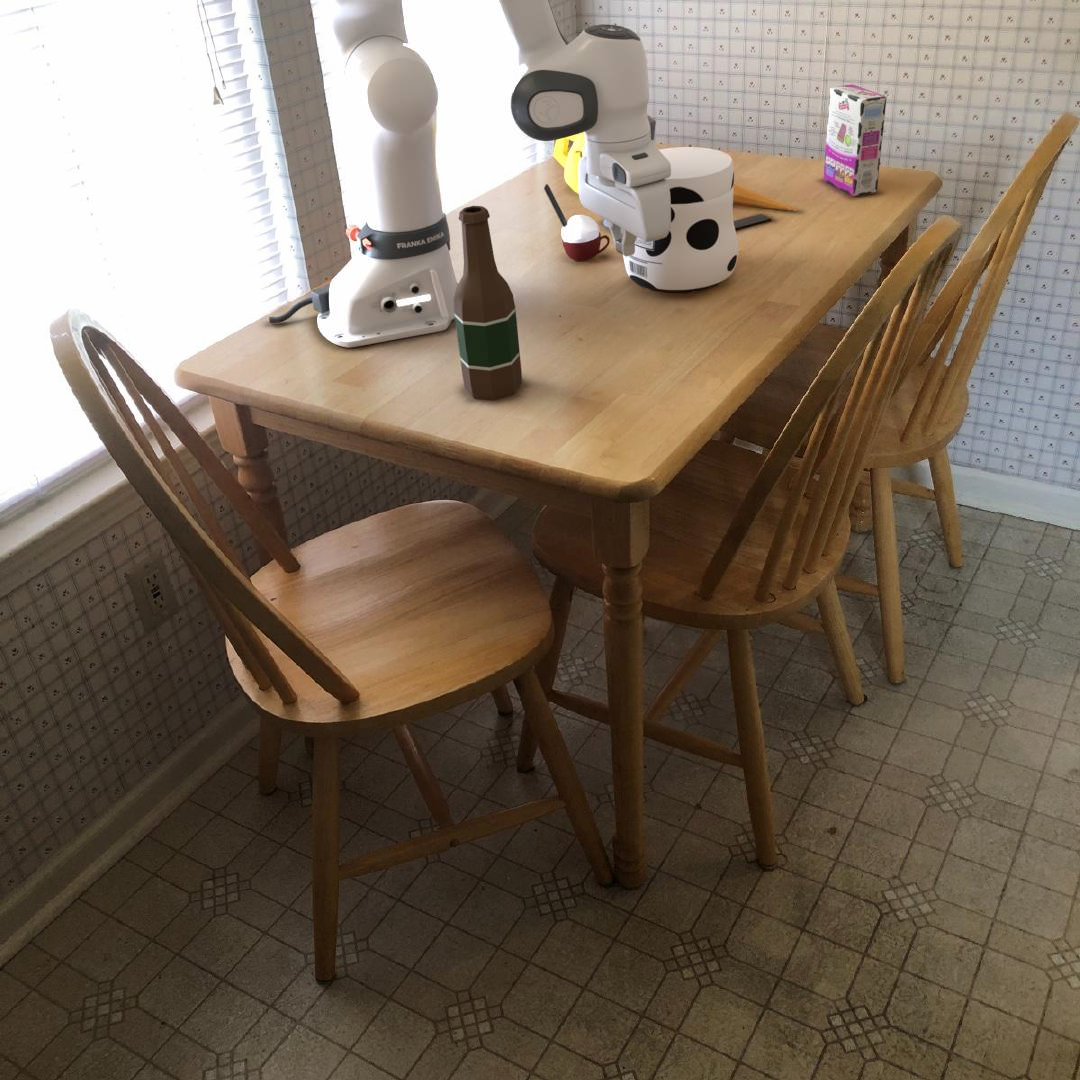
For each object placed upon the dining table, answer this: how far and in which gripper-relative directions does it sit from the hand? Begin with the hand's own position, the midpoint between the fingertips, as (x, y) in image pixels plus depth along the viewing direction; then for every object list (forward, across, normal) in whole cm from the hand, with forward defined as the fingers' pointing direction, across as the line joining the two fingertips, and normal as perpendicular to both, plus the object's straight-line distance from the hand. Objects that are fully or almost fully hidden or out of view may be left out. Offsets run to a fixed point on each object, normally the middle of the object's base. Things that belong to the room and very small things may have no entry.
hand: (624, 252), depth 159 cm
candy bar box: (+11, -24, +59) cm, 65 cm away
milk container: (+10, -6, +12) cm, 16 cm away
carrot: (+10, -28, +39) cm, 49 cm away
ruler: (+10, -20, +25) cm, 33 cm away
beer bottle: (+9, +11, -26) cm, 30 cm away
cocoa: (+9, -23, +4) cm, 26 cm away
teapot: (+10, -53, +25) cm, 59 cm away
